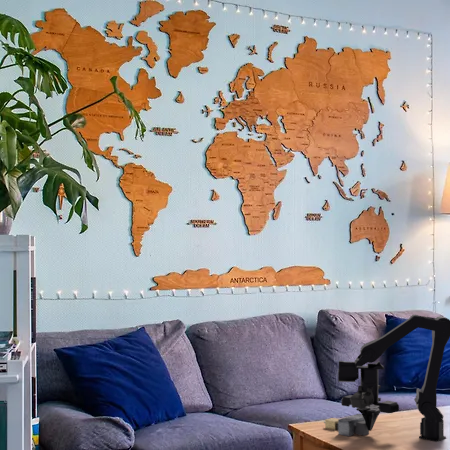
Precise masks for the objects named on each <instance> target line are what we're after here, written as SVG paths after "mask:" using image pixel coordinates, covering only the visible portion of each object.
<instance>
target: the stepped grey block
mask: <svg viewBox="0 0 450 450" xmlns="http://www.w3.org/2000/svg"><path fill="white" fill-rule="evenodd" d="M336 431H338V423H337V430H336ZM354 434H356V435H358V436H359V435H360V436H367V435H369V434H370V431H368V428H367V426H366V423H365V421H359V422H356V426H355V425H354Z"/></svg>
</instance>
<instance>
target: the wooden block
mask: <svg viewBox="0 0 450 450" xmlns="http://www.w3.org/2000/svg"><path fill="white" fill-rule="evenodd" d="M338 419H339V418H334V417H331V418H326V419H325V420H324V421H323V424H325V425H324V428H325V429H327V430H333V431H338V430H337V423H338Z"/></svg>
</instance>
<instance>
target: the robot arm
mask: <svg viewBox="0 0 450 450" xmlns="http://www.w3.org/2000/svg"><path fill="white" fill-rule="evenodd" d="M418 328H419V329H424V330H428V331H429V330H430V331H431V337H432V338H431V339H432V343H431V347H430V353H429V358H428V362H427V367H426V372H425V377H424V382H423V385H422V387H421V389H420V388H416V393H415V394H416V395H415V398H413V399H414V400H413V401H414V402H415V406H416V408H417V410H418V412H419V413H420V414H421V415H422V416H423V417H422V418H421V419H420V420H421V421H420V423H419V429H420V430H419V431H420V432H419V435H418V438H419V439H422V440H427V441H428V440H429V441H433V442H439V441H441V440H445V439H446V438H447V436H445V435H444V433H445V432H444V429H445V427H444V415H443V413H442V412H441V410H440V409H439V407H437V406H438V405H437V401H438V400H437V399H438V398H437V386H438V381H439V377H440V371H441V366H442V362H443V357H444V353H445V349H446V348H445V347H446V345H447V344H448V342H449V340H450V318H447V317H445V316H442V315H439V316H437V317H430V316H423V315H419V314H412V315H411V316H410V317H408V319H406V320H404V321H402V323H400V324H398V325H397V326H396V327H394V328H393V329H391V330H389V331H388V332H386V334H384V335H382V336H381V337H378V338H376V339H374V340H373V339H372V340H370V341H369V342H367V343H364V344H363V345H362V346H361V347H360V351H359V354H358V356H357V357H356V358H355V360H354V361H349V360H348V361H344V360H339V361H338V369H337V380H338V381H337V382H338V383H339V382H340V383H356V381H357V380H359V378H360V385H358V387H357V392H355V393H353V395H352V394H349V395H346V396H345V395H344V396H343V397H342V398H341V406H343V407H347V408H349V407H350V406H351V408H353V409H354V408H355V409H356V411H358V412H359V414H362V415H363V417H364V420H365V423H366V426H367V428H368V431H369V432H371V431H372V430H373V428H374V426H375V423H376V420H377V419H378V416H379V415H380V414H381V413H384V414H393V413H396V412H400V405H399V404H398V402H397V401H391V400H385V401H382V400H381V399H382V398H381V397H379V390H380V389H381V385H380V384H379V370H384V369H385V367H384V365H382V364H381V361H380V360H378V359H379V358H380V357H381V356H383V354H384V353H385V352H386V351H387V350H388V349H389V348H390V347H391V346H393V345H394V344H395V343H397V342H398V341H400V340H401V339H403V338H404V337H406V336H408V335H409V334H411V333H412V332H413V331H415V330H416V329H418ZM376 361H377V362H376ZM374 362H376V363H374ZM366 364H367V365H366ZM359 370H360V371H359ZM359 372H360V377H359ZM381 401H382V402H381Z"/></svg>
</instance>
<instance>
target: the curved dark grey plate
mask: <svg viewBox="0 0 450 450" xmlns="http://www.w3.org/2000/svg"><path fill="white" fill-rule="evenodd" d="M337 419H338V430H337V431H338V432H337V433H338V435H341V436H346V437H351V436H354V435H355V433H354V425H355V426H356V422H359V421H365V420H364V417H363V415H362V414H361V413H356V414H353V415H349V416H346V417H343V418H337Z"/></svg>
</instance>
